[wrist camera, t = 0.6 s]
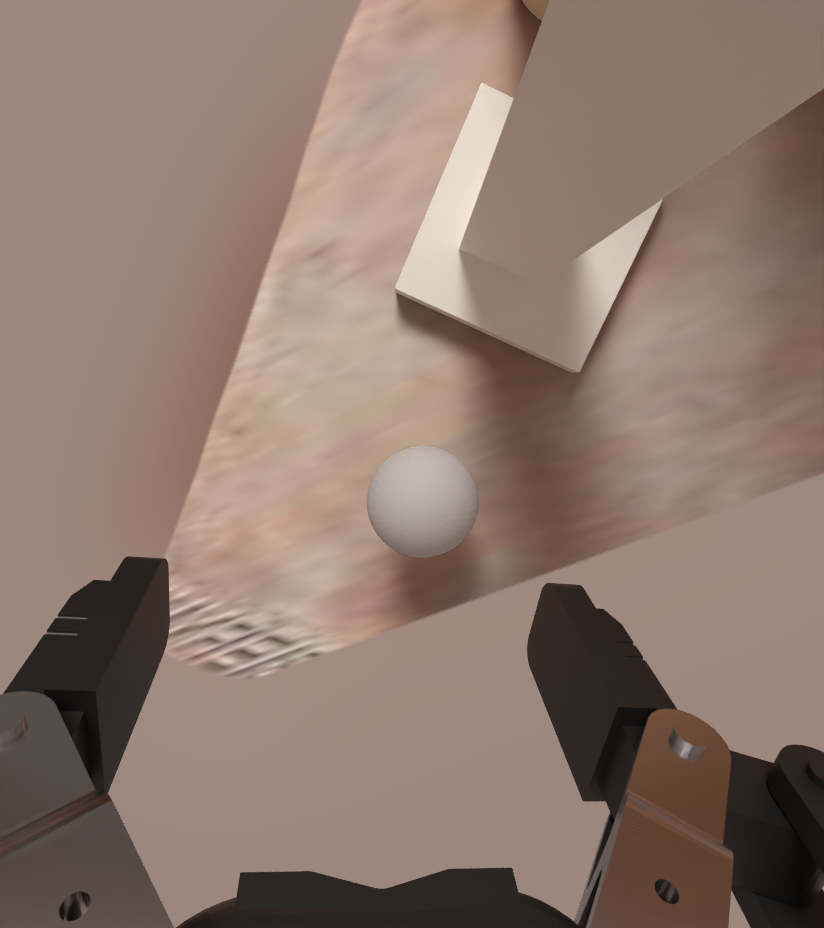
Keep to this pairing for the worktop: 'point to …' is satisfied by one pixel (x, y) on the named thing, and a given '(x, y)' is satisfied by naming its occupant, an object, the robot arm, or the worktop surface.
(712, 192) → the worktop surface
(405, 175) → the worktop surface
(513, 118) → the white pedestal stand
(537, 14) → the coffee cup
